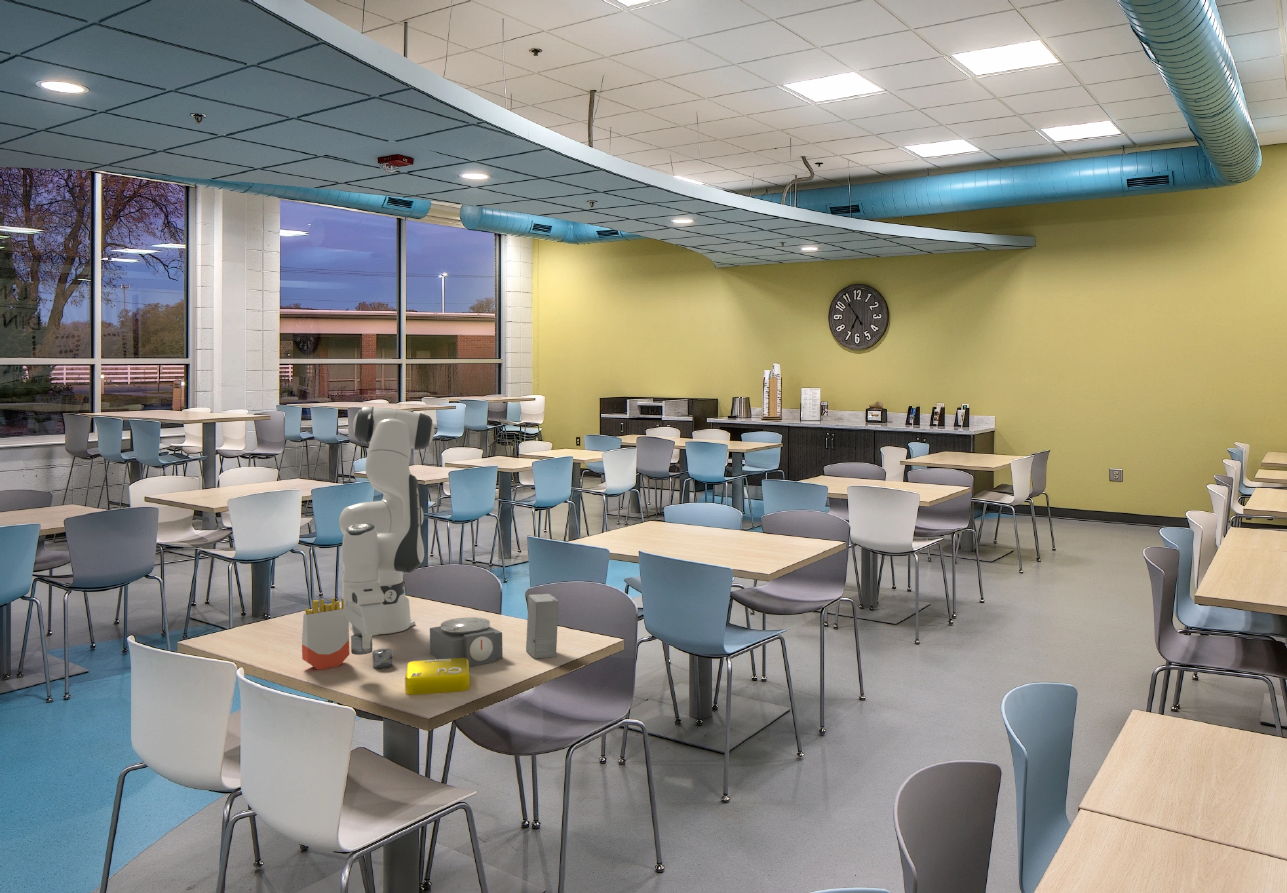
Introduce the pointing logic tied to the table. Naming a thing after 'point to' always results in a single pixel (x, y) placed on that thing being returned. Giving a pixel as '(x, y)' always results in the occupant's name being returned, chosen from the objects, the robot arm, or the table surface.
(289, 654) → the table surface
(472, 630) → the scale pan
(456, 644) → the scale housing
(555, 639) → the skincare box
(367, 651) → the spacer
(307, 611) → the french fries container
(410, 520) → the robot arm
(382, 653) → the spacer
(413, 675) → the element tile
